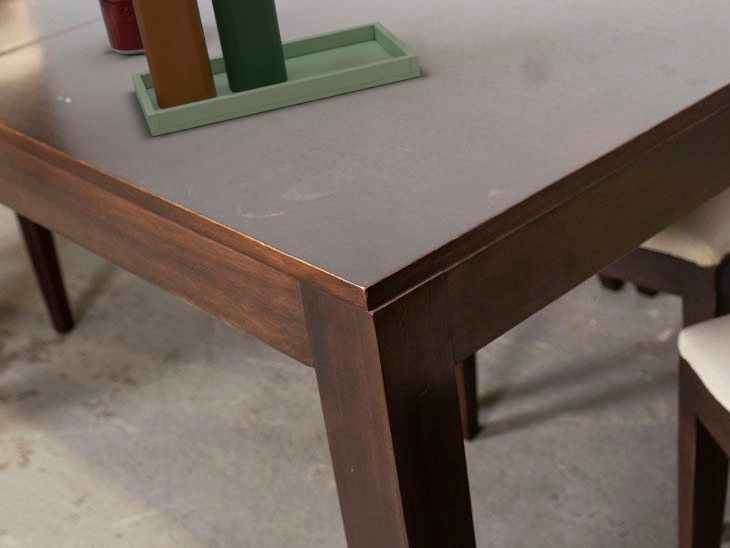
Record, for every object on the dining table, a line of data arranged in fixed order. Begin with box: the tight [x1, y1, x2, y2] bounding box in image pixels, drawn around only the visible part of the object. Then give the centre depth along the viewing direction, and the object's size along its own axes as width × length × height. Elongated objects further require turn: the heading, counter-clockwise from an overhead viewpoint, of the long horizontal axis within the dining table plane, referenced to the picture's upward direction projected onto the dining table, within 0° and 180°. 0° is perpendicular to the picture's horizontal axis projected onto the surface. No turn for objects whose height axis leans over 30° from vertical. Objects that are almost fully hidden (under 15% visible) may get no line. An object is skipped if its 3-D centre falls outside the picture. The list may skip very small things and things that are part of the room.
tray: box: [130, 21, 421, 137], centre depth 106 cm, size 26×13×2 cm, turn 108°
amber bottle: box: [132, 0, 217, 109], centre depth 101 cm, size 6×6×15 cm
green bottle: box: [211, 0, 288, 93], centre depth 102 cm, size 6×6×15 cm
